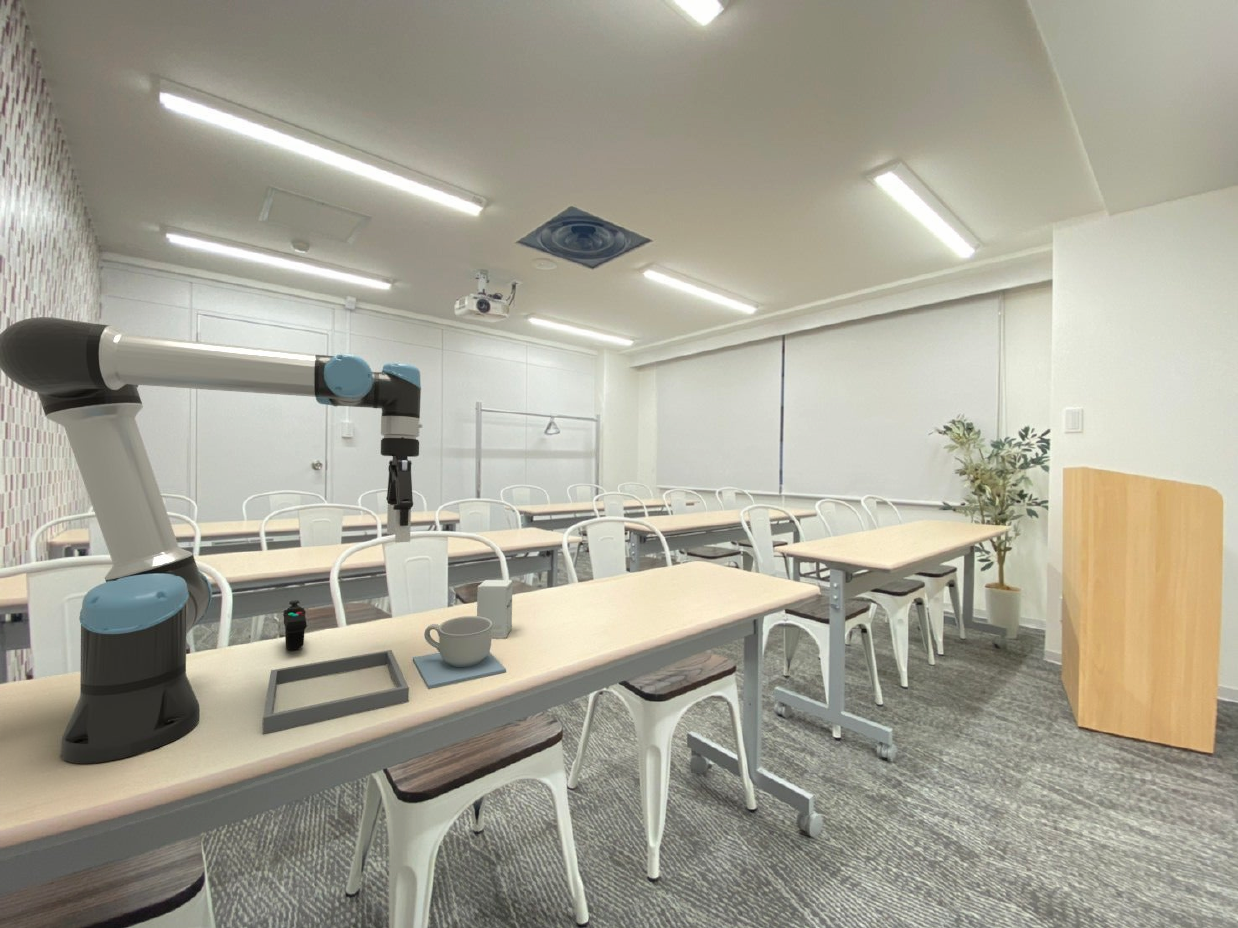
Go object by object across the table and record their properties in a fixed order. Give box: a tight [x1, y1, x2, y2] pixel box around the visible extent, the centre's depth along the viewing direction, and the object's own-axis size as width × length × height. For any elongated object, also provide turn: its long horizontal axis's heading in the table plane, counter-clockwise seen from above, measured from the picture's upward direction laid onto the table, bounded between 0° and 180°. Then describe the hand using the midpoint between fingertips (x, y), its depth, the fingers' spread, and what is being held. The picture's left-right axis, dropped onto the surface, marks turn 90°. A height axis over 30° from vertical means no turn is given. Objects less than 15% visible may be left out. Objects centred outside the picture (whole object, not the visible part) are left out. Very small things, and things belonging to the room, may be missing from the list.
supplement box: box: [476, 579, 513, 639], centre depth 125 cm, size 7×7×13 cm
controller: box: [283, 599, 308, 651], centre depth 113 cm, size 4×12×10 cm, turn 36°
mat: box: [412, 651, 507, 690], centre depth 104 cm, size 15×16×1 cm
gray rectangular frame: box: [262, 649, 410, 735], centre depth 92 cm, size 21×21×2 cm
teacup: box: [424, 615, 492, 667], centre depth 105 cm, size 14×11×8 cm
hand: (397, 537), depth 107 cm, fingers open, 13 cm apart
